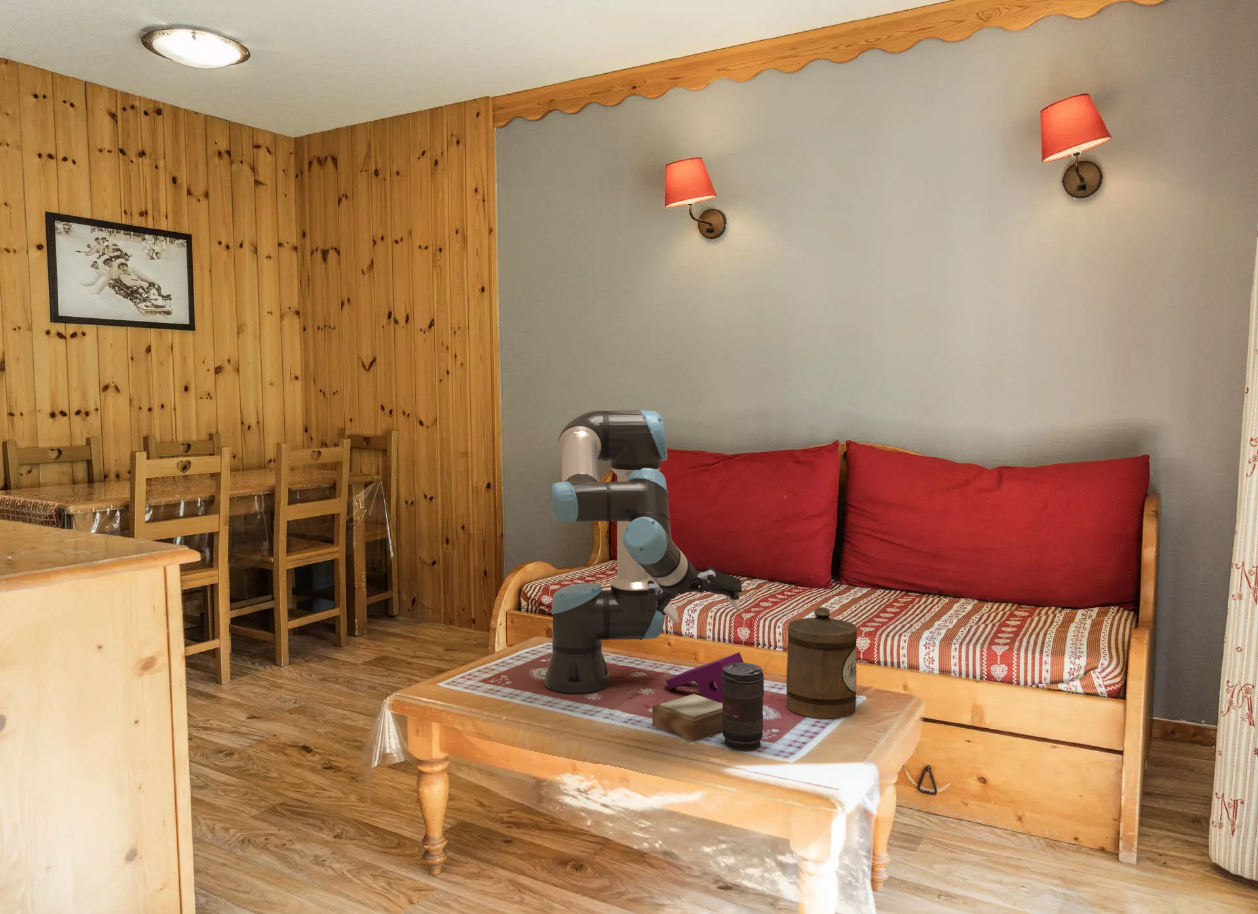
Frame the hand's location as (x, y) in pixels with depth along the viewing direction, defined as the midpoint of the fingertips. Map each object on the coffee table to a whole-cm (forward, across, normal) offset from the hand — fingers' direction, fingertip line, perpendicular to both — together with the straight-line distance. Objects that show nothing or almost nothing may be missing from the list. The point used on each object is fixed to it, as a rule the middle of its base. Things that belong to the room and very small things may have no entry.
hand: (706, 610), depth 185 cm
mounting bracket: (+24, -10, -9) cm, 28 cm away
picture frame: (+7, -7, -21) cm, 24 cm away
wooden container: (+26, +16, -16) cm, 35 cm away
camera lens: (+3, +4, -28) cm, 28 cm away
